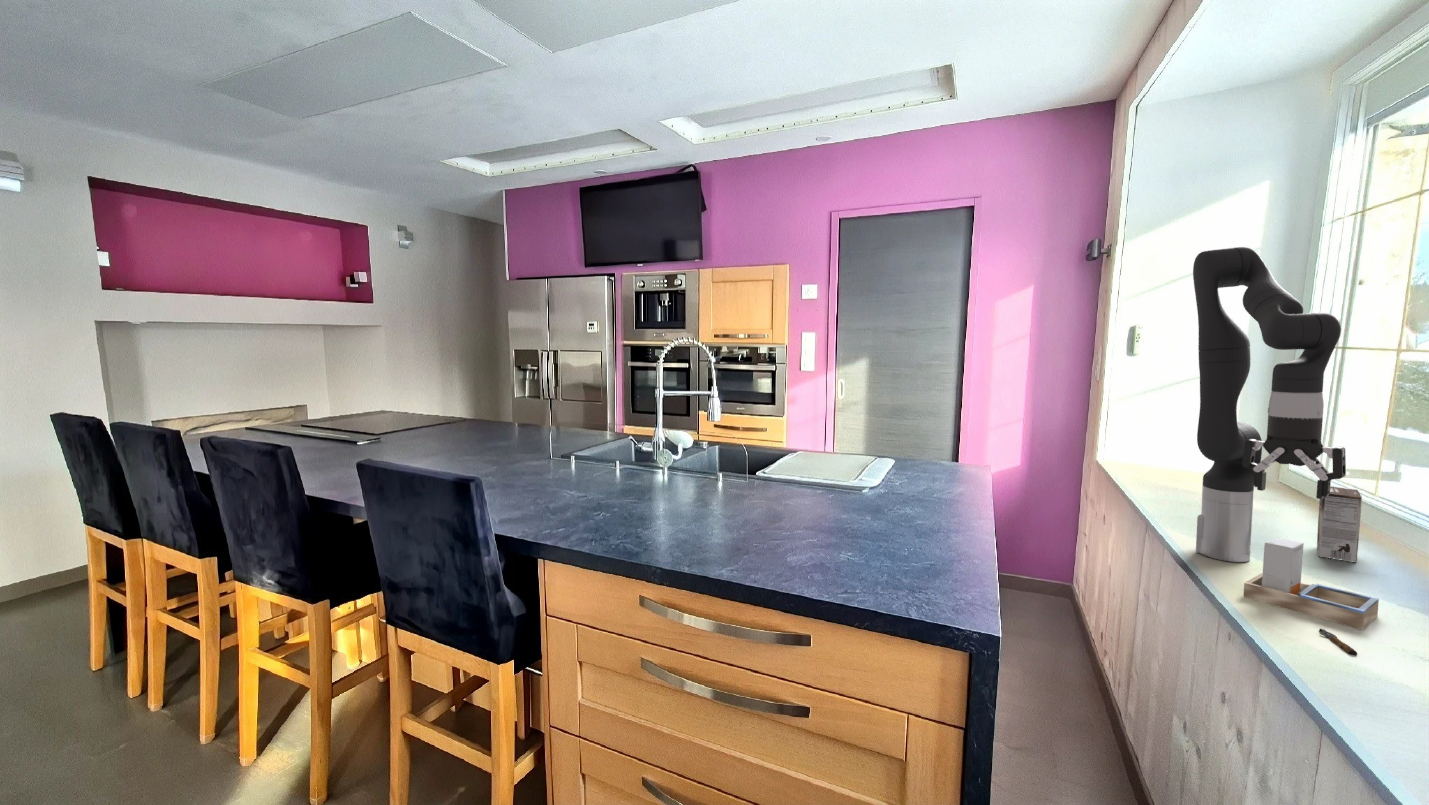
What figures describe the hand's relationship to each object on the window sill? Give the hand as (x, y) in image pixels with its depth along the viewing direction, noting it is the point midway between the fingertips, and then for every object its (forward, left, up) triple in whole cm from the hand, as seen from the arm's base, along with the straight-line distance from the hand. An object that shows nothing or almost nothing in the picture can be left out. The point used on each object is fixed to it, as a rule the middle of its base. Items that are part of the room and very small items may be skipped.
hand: (1289, 494), depth 111 cm
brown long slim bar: (+11, -15, -23) cm, 29 cm away
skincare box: (0, 0, -22) cm, 22 cm away
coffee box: (-2, +42, -22) cm, 47 cm away
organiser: (+4, 0, -22) cm, 22 cm away
